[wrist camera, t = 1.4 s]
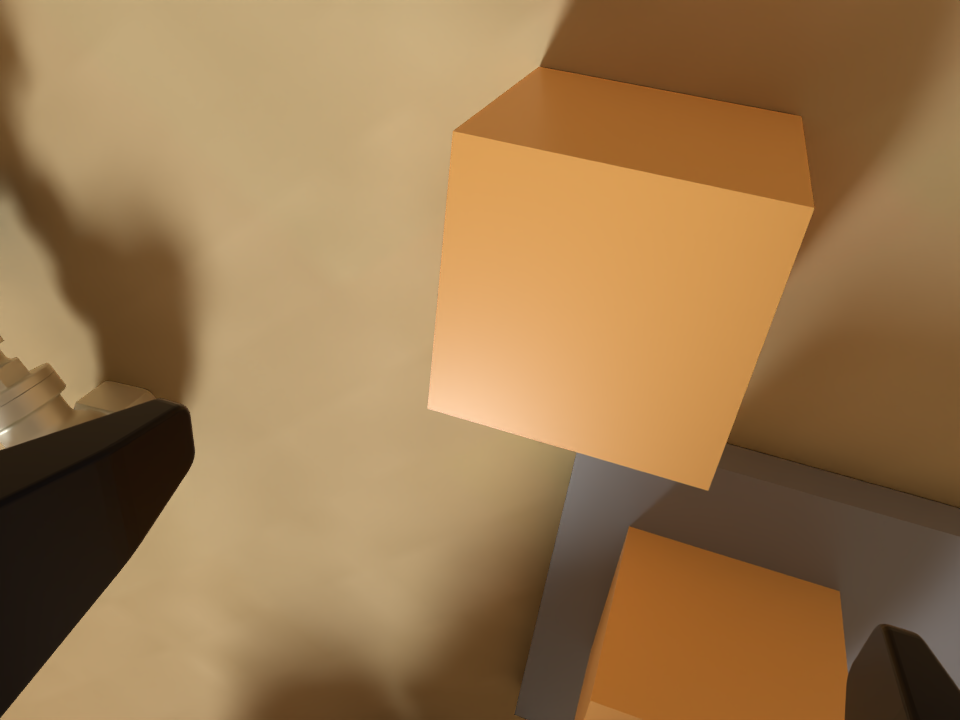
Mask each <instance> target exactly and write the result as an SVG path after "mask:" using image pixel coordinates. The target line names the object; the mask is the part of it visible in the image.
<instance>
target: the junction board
mask: <svg viewBox="0 0 960 720" xmlns="http://www.w3.org/2000/svg"><path fill="white" fill-rule="evenodd" d="M879 624H889V625H892V626H895V627H899V628H902V629H905V630H908V631H911V632H914V633H916V634H918V635H919V636H920V637H922V638H923V640H924V641H925V642H926V643H927V645H928V646H929V648H930V649H931V650H932V652H933V653H934V655H935V656H936V657H937V659H938V660H939V661H940V663H941V664H942V666H943V667H944V668H945V670H946V671H947V673H948V674H949V675H950V677H951V678H952V680H953V681H954V682H955V684H956V685H957V686H958V688H959V689H960V508H957V507H953V506H950V505H946V504H942V503H939V502H935V501H932V500H928V499H924V498H921V497H917V496H914V495H910V494H907V493H903V492H899V491H896V490H892V489H889V488H885V487H881V486H878V485H874V484H871V483H867V482H864V481H860V480H856V479H853V478H849V477H846V476H842V475H838V474H835V473H831V472H828V471H824V470H820V469H817V468H813V467H810V466H806V465H803V464H799V463H795V462H792V461H788V460H785V459H781V458H777V457H774V456H770V455H767V454H763V453H760V452H756V451H752V450H749V449H745V448H742V447H738V446H734V445H731V444H727V443H726V445H725V448H724V450H723V453H722V456H721V458H720V461H719V464H718V466H717V469H716V472H715V474H714V477H713V480H712V482H711V485H710V488H709V490H708V491H707V490H704V489H700V488H697V487H694V486H690V485H687V484H683V483H680V482H676V481H673V480H670V479H666V478H663V477H659V476H656V475H653V474H649V473H646V472H642V471H639V470H635V469H632V468H629V467H625V466H622V465H618V464H615V463H612V462H608V461H605V460H601V459H598V458H594V457H591V456H588V455H584V454H581V453H576V457H575V461H574V465H573V470H572V474H571V478H570V482H569V486H568V491H567V495H566V499H565V503H564V508H563V512H562V516H561V520H560V524H559V529H558V533H557V537H556V541H555V545H554V550H553V554H552V558H551V562H550V567H549V571H548V575H547V579H546V583H545V588H544V592H543V596H542V600H541V604H540V609H539V613H538V617H537V621H536V626H535V630H534V634H533V638H532V642H531V647H530V651H529V655H528V659H527V664H526V668H525V672H524V676H523V680H522V685H521V689H520V693H519V697H518V701H517V706H516V710H515V714H514V715H517V716H519V717H522V718H525V719H528V720H845V700H846V683H847V677H848V673H849V670H850V667H851V665H852V663H853V662H854V660H855V658H856V657H857V655H858V654H859V652H860V650H861V649H862V647H863V646H864V644H865V642H866V641H867V639H868V637H869V636H870V634H871V633H872V631H873V630H874V628H875V627H876V626H878V625H879Z"/></svg>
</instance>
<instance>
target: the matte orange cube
mask: <svg viewBox="0 0 960 720" xmlns="http://www.w3.org/2000/svg"><path fill="white" fill-rule="evenodd" d="M814 208H815V207H814V200H813V193H812V186H811V179H810V172H809V165H808V158H807V151H806V144H805V137H804V130H803V123H802V116H797V115H792V114H787V113H781V112H776V111H771V110H766V109H760V108H755V107H750V106H744V105H739V104H734V103H729V102H723V101H718V100H713V99H708V98H702V97H697V96H692V95H687V94H681V93H676V92H671V91H665V90H660V89H655V88H650V87H644V86H639V85H634V84H629V83H623V82H618V81H613V80H607V79H602V78H597V77H592V76H586V75H581V74H576V73H571V72H565V71H560V70H555V69H549V68H544V67H538V68H537V69H535V70H534V71H533V72H531V73H530V74H529V75H527V76H526V77H525V78H523V79H522V80H521V81H519V82H518V83H517V84H515V85H514V86H513V87H511V88H510V89H509V90H507V91H506V92H505V93H503V94H502V95H501V96H499V97H498V98H497V99H495V100H494V101H493V102H491V103H490V104H489V105H487V106H486V107H485V108H483V109H482V110H481V111H479V112H478V113H477V114H475V115H474V116H473V117H471V118H470V119H469V120H467V121H466V122H465V123H463V124H462V125H461V126H459V127H458V128H457V129H455V130H454V131H453V137H452V147H451V158H450V169H449V180H448V191H447V202H446V213H445V224H444V235H443V246H442V257H441V267H440V278H439V289H438V300H437V311H436V322H435V333H434V344H433V355H432V366H431V377H430V388H429V398H428V409H431V410H434V411H437V412H441V413H444V414H448V415H451V416H454V417H458V418H461V419H465V420H468V421H472V422H475V423H478V424H482V425H485V426H489V427H492V428H495V429H499V430H502V431H506V432H509V433H513V434H516V435H519V436H523V437H526V438H530V439H533V440H536V441H540V442H543V443H547V444H550V445H554V446H557V447H560V448H564V449H567V450H571V451H574V452H577V453H581V454H584V455H588V456H591V457H594V458H598V459H601V460H605V461H608V462H612V463H615V464H618V465H622V466H625V467H629V468H632V469H635V470H639V471H642V472H646V473H649V474H653V475H656V476H659V477H663V478H666V479H670V480H673V481H676V482H680V483H683V484H687V485H690V486H694V487H697V488H700V489H704V490H707V491H708V490H709V488H710V485H711V482H712V480H713V477H714V474H715V472H716V469H717V466H718V464H719V461H720V458H721V456H722V453H723V450H724V448H725V445H726V442H727V440H728V437H729V434H730V432H731V429H732V426H733V424H734V421H735V418H736V416H737V413H738V410H739V408H740V405H741V402H742V400H743V397H744V394H745V392H746V389H747V386H748V384H749V381H750V379H751V376H752V373H753V371H754V368H755V365H756V363H757V360H758V357H759V355H760V352H761V349H762V347H763V344H764V341H765V339H766V336H767V333H768V331H769V328H770V325H771V323H772V320H773V317H774V315H775V312H776V309H777V307H778V304H779V301H780V299H781V296H782V293H783V291H784V288H785V285H786V283H787V280H788V277H789V275H790V272H791V270H792V267H793V264H794V262H795V259H796V256H797V254H798V251H799V248H800V246H801V243H802V240H803V238H804V235H805V232H806V230H807V227H808V224H809V222H810V219H811V216H812V214H813V211H814Z"/></svg>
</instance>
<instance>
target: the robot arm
mask: <svg viewBox="0 0 960 720" xmlns="http://www.w3.org/2000/svg"><path fill="white" fill-rule="evenodd" d="M194 455H195V447H194V439H193V431H192V424H191V416H190V412H189V410H188V408H187V407H186V406H184V405H182V404H179V403H176V402H173V401H170V400H166V399H161V398H158V399H153V400H150V401H147V402H144V403H141V404H138V405H135V406H132V407H129V408H126V409H123V410H120V411H117V412H114V413H111V414H108V415H105V416H102V417H99V418H96V419H93V420H90V421H87V422H84V423H81V424H78V425H75V426H72V427H69V428H66V429H63V430H60V431H57V432H54V433H51V434H48V435H45V436H42V437H39V438H36V439H33V440H30V441H27V442H24V443H21V444H18V445H15V446H12V447H9V448H6V449H3V450H0V718H1V717H2V715H3V714H4V713H5V712H6V710H7V709H8V708H9V707H10V705H11V704H12V703H13V702H14V701H15V699H16V698H17V697H18V696H19V694H20V693H21V692H22V691H23V690H24V688H25V687H26V686H27V685H28V683H29V682H30V681H31V680H32V679H33V677H34V676H35V675H36V674H37V672H38V671H39V670H40V669H41V667H42V666H43V665H44V664H45V663H46V661H47V660H48V659H49V658H50V656H51V655H52V654H53V653H54V652H55V650H56V649H57V648H58V647H59V645H60V644H61V643H62V642H63V641H64V639H65V638H66V637H67V636H68V634H69V633H70V632H71V631H72V629H73V628H74V627H75V626H76V625H77V623H78V622H79V621H80V620H81V618H82V617H83V616H84V615H85V614H86V612H87V611H88V610H89V609H90V607H91V606H92V605H93V604H94V603H95V601H96V600H97V599H98V598H99V596H100V595H101V594H102V593H103V592H104V590H105V589H106V588H107V587H108V585H109V584H110V583H111V582H112V580H113V579H114V578H115V577H116V576H117V574H118V573H119V572H120V571H121V569H122V568H123V567H124V565H125V564H126V563H127V562H128V560H129V559H130V558H131V556H132V555H133V554H134V552H135V551H136V549H137V548H138V546H139V545H140V544H141V542H142V541H143V539H144V538H145V536H146V535H147V533H148V532H149V530H150V529H151V527H152V525H153V524H154V522H155V521H156V519H157V518H158V516H159V515H160V513H161V512H162V510H163V509H164V507H165V506H166V504H167V503H168V501H169V500H170V498H171V497H172V495H173V494H174V492H175V491H176V489H177V487H178V486H179V484H180V483H181V481H182V480H183V478H184V477H185V475H186V474H187V472H188V471H189V469H190V467H191V465H192V463H193V460H194ZM845 720H960V689H959V688H958V686H957V685H956V684H955V682H954V681H953V680H952V678H951V677H950V675H949V674H948V673H947V671H946V670H945V668H944V667H943V666H942V664H941V663H940V661H939V660H938V659H937V657H936V656H935V655H934V653H933V652H932V650H931V649H930V648H929V646H928V645H927V643H926V642H925V641H924V640H923V638H922V637H920V636H919V635H918V634H916V633H914V632H911V631H908V630H905V629H902V628H899V627H895V626H892V625H889V624H879V625H878V626H876V627H875V628H874V630H873V631H872V633H871V634H870V636H869V637H868V639H867V641H866V642H865V644H864V646H863V647H862V649H861V650H860V652H859V654H858V655H857V657H856V658H855V660H854V662H853V663H852V665H851V667H850V670H849V673H848V677H847V683H846V700H845Z"/></svg>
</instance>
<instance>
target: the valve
mask: <svg viewBox="0 0 960 720" xmlns="http://www.w3.org/2000/svg"><path fill="white" fill-rule="evenodd" d="M3 341H4V340H3V338H2V337H1V336H0V343H1V342H3ZM65 387H66V384H65V383H64V382H63V381H62V379H61V378H60V377H59V375H58V374H57V373H56V372H55V371H54V369H53V368H52V366H51V365H50V364H49V363H45V364H42V365H40V366H38V367H36V368H34V369H32V370H30V371H28V370H27V368H26V367H25V366H24V365H23V363H22V362H21V361H20V360H19V359H18V358H17V357H15V358H13V359H10V358H7V357H6V356H5V355H4V354H3V352H2V351H1V350H0V442H1V443H2V444H3V446H4V447H5V448H9V447H12V446H15V445H18V444H21V443H24V442H27V441H30V440H33V439H36V438H39V437H42V436H45V435H48V434H51V433H54V432H57V431H60V430H63V429H66V428H69V427H72V426H75V425H78V424H81V423H84V422H87V421H90V420H93V419H96V418H99V417H102V416H105V415H108V414H111V413H114V412H117V411H120V410H123V409H126V408H129V407H132V406H135V405H138V404H141V403H144V402H147V401H150V400H153V399H156V398H155V397H154V395H153V394H152V393H151V392H149V391H148V390H146V389H144V388H140V387H135V386H131V385H126V384H122V383H117V382H113V381H105V382H103V383H102V384H100V385H99V386H98V387H96V388H95V389H94V390H92V391H91V392H90V393H88V394H87V395H85V396H84V397H83V398H81V399H80V400H79V401H77V402H76V403H75V407H74V409H72V408H71V407H70V406H69V405H68V404H67V403H66V401H65V400H64V399H63V397H62V396H61V395H60V393H61V392H62V391H63V390H64V389H65Z"/></svg>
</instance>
